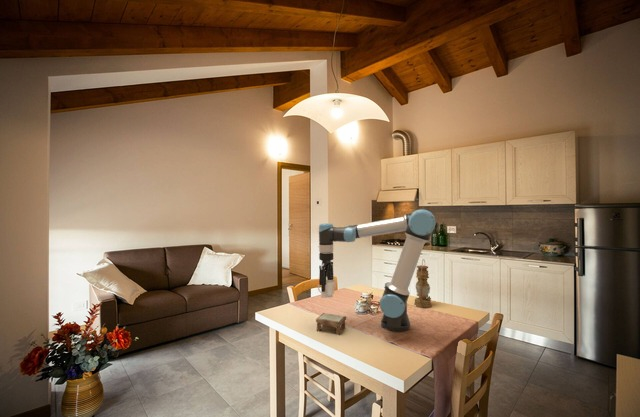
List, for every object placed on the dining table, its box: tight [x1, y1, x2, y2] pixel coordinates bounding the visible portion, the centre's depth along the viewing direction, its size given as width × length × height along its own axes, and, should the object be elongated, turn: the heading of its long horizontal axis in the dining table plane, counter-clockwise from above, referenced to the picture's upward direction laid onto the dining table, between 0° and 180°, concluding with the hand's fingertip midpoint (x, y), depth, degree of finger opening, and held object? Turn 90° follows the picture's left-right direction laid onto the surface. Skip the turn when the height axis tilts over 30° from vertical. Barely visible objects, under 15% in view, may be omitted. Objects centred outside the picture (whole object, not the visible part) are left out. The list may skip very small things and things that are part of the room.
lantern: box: [414, 259, 432, 308], centre depth 196 cm, size 15×10×30 cm
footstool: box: [315, 312, 347, 335], centre depth 157 cm, size 13×10×6 cm
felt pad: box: [319, 312, 345, 322], centre depth 157 cm, size 11×8×1 cm
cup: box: [317, 279, 336, 299], centre depth 161 cm, size 7×10×8 cm
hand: (326, 295), depth 161 cm, fingers closed on cup, 7 cm apart
